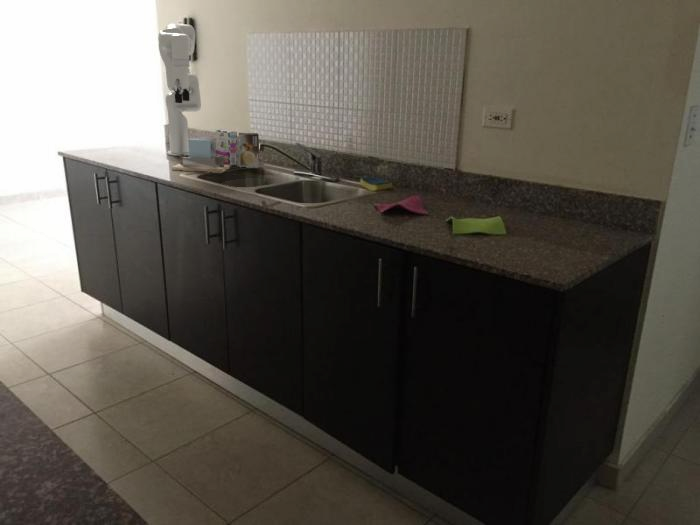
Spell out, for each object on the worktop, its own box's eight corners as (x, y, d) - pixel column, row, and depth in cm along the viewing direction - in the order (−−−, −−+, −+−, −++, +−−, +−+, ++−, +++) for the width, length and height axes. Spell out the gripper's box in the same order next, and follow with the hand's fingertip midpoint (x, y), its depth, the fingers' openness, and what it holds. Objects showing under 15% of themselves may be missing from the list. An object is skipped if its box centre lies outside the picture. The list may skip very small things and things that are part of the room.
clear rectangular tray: (184, 164, 284) (183, 151, 281) (230, 167, 282) (230, 154, 280) (172, 170, 269) (171, 155, 267) (221, 173, 268) (220, 158, 265)
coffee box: (257, 165, 290) (257, 132, 285) (259, 168, 285) (259, 134, 279) (238, 165, 288) (238, 132, 283) (240, 168, 282) (239, 134, 277)
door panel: (192, 164, 277) (191, 138, 273) (216, 165, 276) (215, 139, 273) (189, 165, 274) (188, 139, 270) (213, 167, 273) (212, 141, 269)
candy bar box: (237, 165, 288) (237, 131, 283) (229, 166, 285) (228, 132, 279) (224, 162, 295) (223, 128, 290) (215, 163, 292) (214, 129, 287)
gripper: (179, 62, 277) (181, 99, 283) (165, 63, 261) (167, 103, 267) (195, 63, 277) (196, 100, 283) (182, 64, 261) (183, 104, 267)
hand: (182, 101), depth 275 cm, fingers open, 9 cm apart
